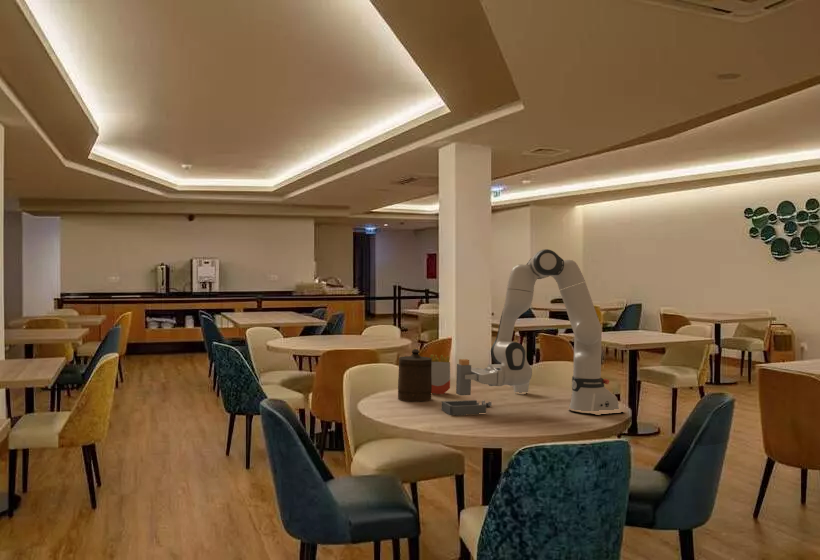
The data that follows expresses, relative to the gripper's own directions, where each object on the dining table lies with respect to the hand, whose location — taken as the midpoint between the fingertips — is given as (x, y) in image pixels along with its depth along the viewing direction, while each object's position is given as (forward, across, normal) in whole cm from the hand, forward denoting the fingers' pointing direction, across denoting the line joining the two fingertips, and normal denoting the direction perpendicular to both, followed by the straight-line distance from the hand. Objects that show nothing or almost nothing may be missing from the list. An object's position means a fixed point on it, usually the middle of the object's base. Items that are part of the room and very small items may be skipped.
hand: (461, 375), depth 278 cm
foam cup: (-44, -37, +15) cm, 59 cm away
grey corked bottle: (-1, 0, +8) cm, 8 cm away
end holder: (-1, 0, +15) cm, 15 cm away
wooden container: (+10, -32, +15) cm, 37 cm away
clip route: (-13, -7, +15) cm, 21 cm away
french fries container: (-5, -44, +15) cm, 47 cm away
